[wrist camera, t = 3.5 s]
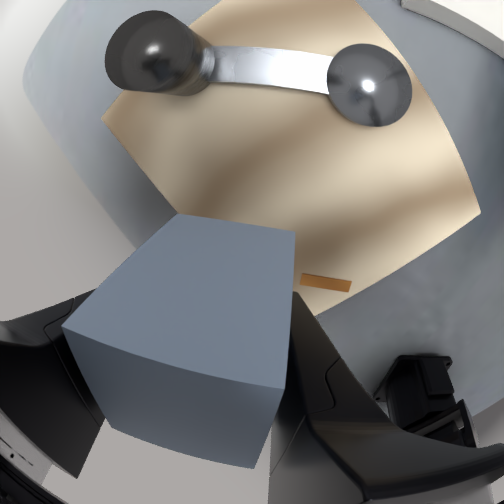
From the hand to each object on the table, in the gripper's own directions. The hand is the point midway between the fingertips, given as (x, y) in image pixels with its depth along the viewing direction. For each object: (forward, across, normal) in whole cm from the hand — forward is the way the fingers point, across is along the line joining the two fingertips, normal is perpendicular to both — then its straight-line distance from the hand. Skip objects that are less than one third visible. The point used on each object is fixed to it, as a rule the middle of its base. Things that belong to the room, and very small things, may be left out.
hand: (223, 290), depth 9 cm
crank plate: (+9, -2, -4) cm, 10 cm away
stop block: (+1, 0, 0) cm, 1 cm away
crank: (+7, 0, -8) cm, 11 cm away
